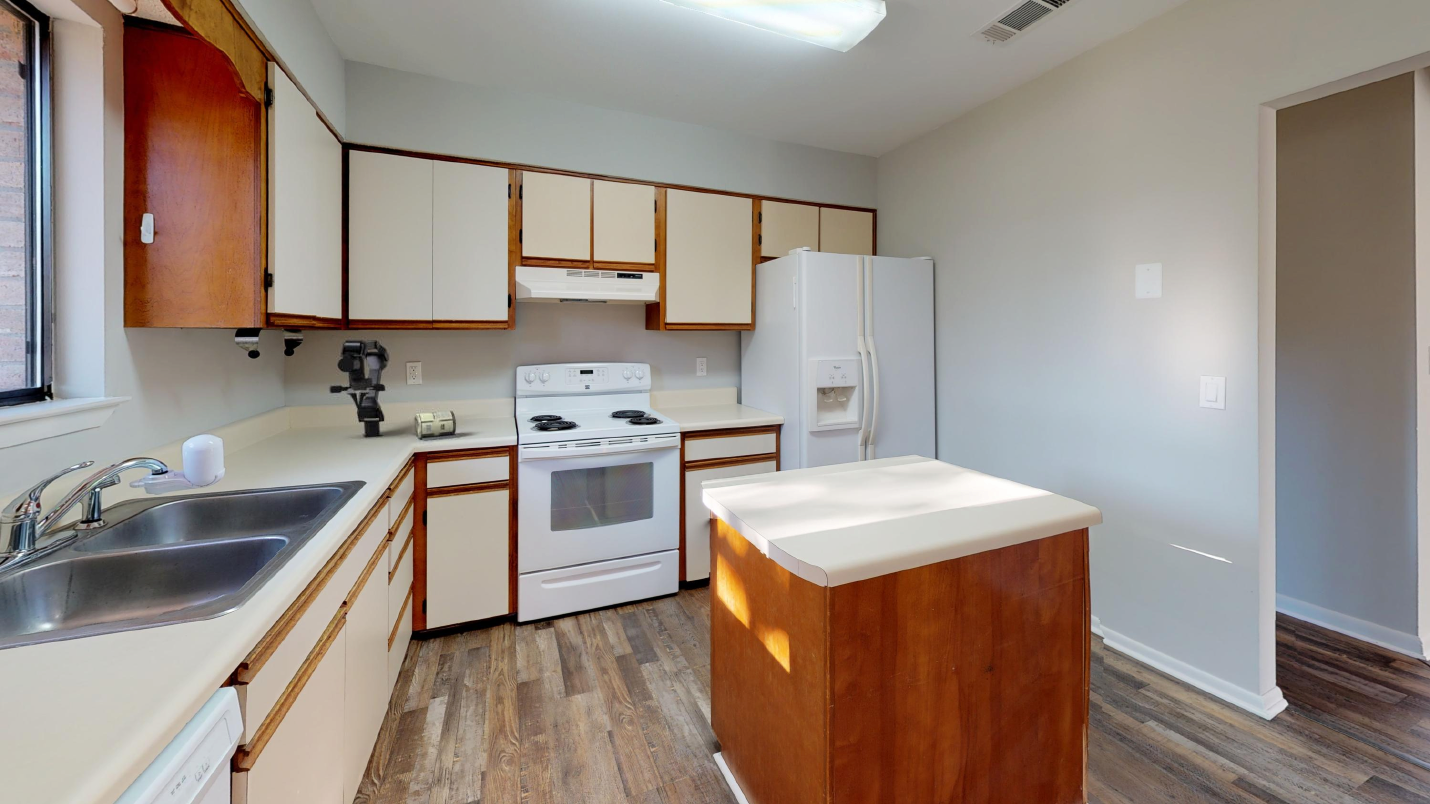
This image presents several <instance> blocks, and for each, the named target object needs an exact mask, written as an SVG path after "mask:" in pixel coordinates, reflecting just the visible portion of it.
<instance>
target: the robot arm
mask: <svg viewBox="0 0 1430 804" xmlns="http://www.w3.org/2000/svg"><path fill="white" fill-rule="evenodd" d="M375 350H376V351H375ZM389 354H390V353H389V352H388V350H387V348H386V347H384V346H383V345H381V344H380V341H379V340H377V339H376V340H375V339H369V340H368V339H367V340H364V339H345V341H344V342H343V343H342V347H341V352H340V355H339V356H340V359H339V360H338V361H337V367H338V368H337V369H338V370H340V371H341V372H343V373H348V374H347V375H348V386H343V385H341V384H332V385H329V386H328V392H329V394H342V392H346V395H349V396H350V398H351V399H352V401H353V403H354V405H355V407H356V409H357V410H356V415H357V420H358V423H363V426H364V427H363V430H364V433H362V436H363V437H364V438H370V437H381V436H383V434H382V433H381V429H380V428H381V427H380V425H381V424H380V423H382V422H385V414H384V412H383V410H382V406H381V405H380V403H379V401H378V400H379V394H380V393H379V392H386V385H384V383H381V380H382V379H381V378H382V373H383V371H384V370H385V369H386V368H387V366H388V362H390V355H389ZM365 361H366V362H365ZM365 363H366V364H367V366H368V367H369V369H368V377H366V365H365ZM357 392H358V393H357Z"/></svg>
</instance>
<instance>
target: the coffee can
mask: <svg viewBox="0 0 1430 804" xmlns="http://www.w3.org/2000/svg"><path fill="white" fill-rule="evenodd" d="M456 420H457V419H456V416H455V413H454V411H453V410H450V411H438V412H424V413H415V414H414V421H413V422H414V432H416V436H415V437H416V438H417V439H420V438H421V437H431V436H441V435H454V434H456V432H457V421H456Z"/></svg>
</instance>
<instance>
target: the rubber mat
mask: <svg viewBox="0 0 1430 804" xmlns="http://www.w3.org/2000/svg"><path fill="white" fill-rule="evenodd" d="M412 435H414V436H415V437H417V436H416V432H415V431H414V432H412ZM456 438H457V439H458V438H459V439H460V438H461V436H460V435H459V434H457V433H455V434H454V435H441V436H431V437H421V438H419V439H420V440H422V441H435V440H437V441H438V440H447V439H456Z"/></svg>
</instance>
